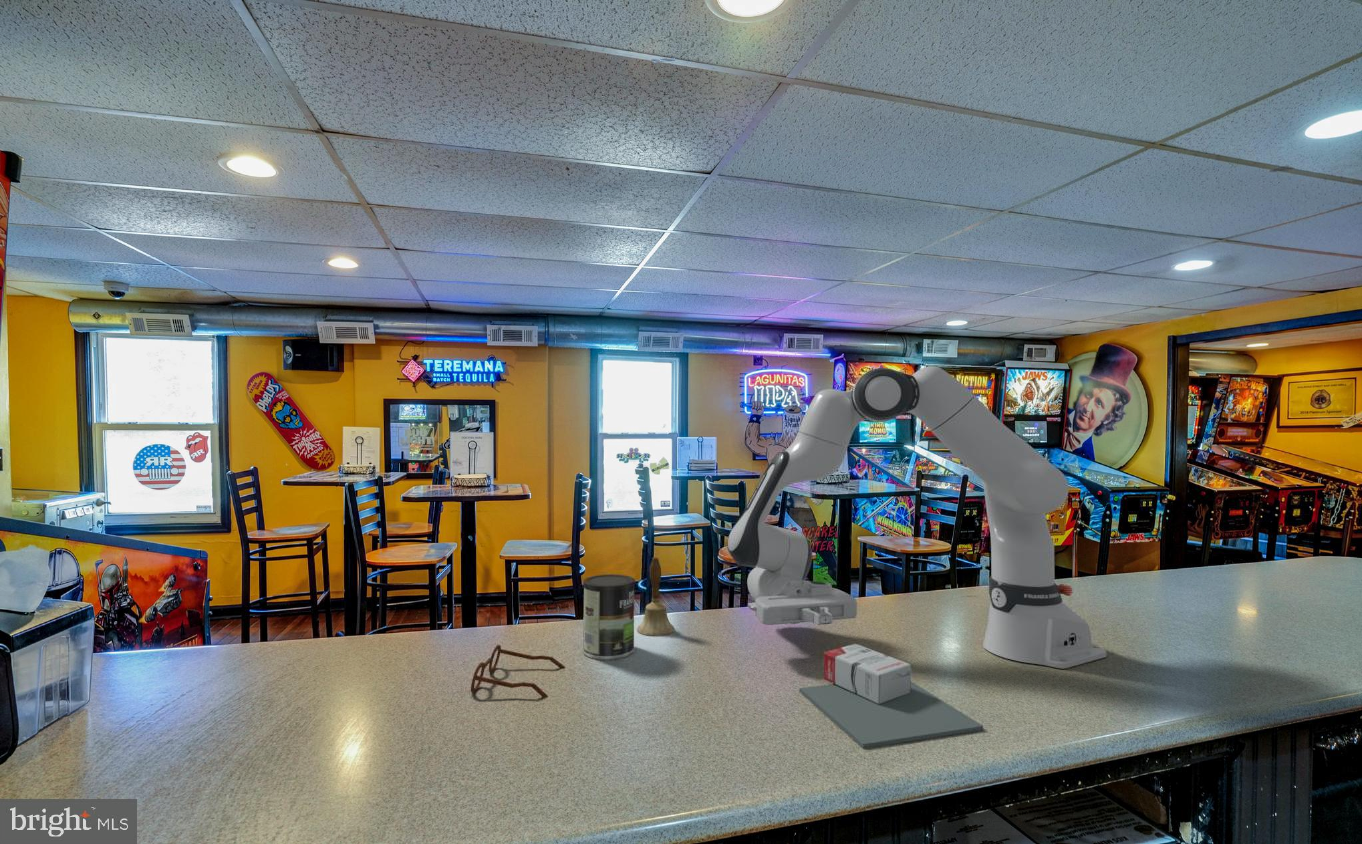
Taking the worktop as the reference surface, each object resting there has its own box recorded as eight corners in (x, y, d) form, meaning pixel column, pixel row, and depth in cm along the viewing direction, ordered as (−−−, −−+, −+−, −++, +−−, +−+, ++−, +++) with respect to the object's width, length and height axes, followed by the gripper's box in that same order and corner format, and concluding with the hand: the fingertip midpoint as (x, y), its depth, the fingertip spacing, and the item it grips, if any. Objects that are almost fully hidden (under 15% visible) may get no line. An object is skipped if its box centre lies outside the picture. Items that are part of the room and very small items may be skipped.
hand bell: (666, 638, 127) (666, 562, 128) (630, 633, 130) (631, 559, 130) (679, 626, 135) (680, 555, 135) (646, 622, 138) (646, 552, 138)
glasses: (495, 668, 111) (495, 641, 112) (565, 669, 111) (565, 642, 111) (468, 699, 98) (469, 668, 98) (547, 700, 98) (548, 669, 98)
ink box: (822, 680, 104) (879, 705, 94) (822, 651, 104) (879, 673, 94) (855, 670, 109) (912, 693, 99) (855, 642, 109) (913, 663, 99)
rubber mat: (902, 679, 106) (902, 675, 106) (983, 730, 88) (983, 725, 88) (799, 691, 101) (799, 688, 101) (863, 748, 82) (862, 744, 82)
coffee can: (642, 645, 123) (642, 576, 123) (621, 663, 113) (622, 588, 113) (597, 639, 126) (597, 572, 127) (573, 656, 116) (573, 583, 117)
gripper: (744, 587, 121) (773, 606, 107) (835, 581, 126) (873, 599, 113) (744, 619, 120) (773, 642, 107) (834, 612, 126) (873, 632, 113)
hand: (825, 620), depth 110 cm, fingers closed
